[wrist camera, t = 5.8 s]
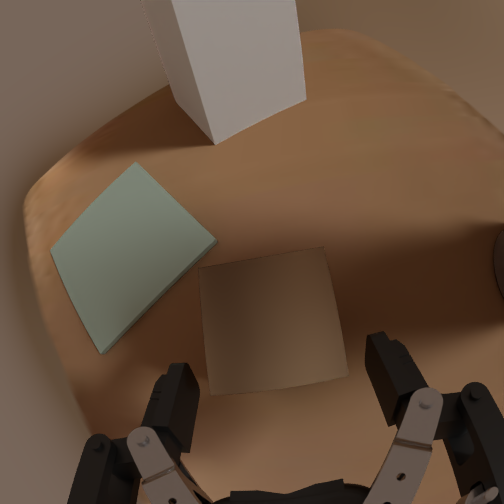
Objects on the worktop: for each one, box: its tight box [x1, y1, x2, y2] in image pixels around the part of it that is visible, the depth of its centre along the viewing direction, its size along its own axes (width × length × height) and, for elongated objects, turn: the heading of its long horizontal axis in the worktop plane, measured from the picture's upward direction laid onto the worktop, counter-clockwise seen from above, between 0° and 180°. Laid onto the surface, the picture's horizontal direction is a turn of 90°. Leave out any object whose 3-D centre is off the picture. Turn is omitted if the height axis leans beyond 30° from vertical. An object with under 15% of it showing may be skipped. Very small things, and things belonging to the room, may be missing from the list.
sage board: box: [50, 162, 217, 354], centre depth 24 cm, size 14×14×1 cm
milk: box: [140, 0, 306, 145], centre depth 18 cm, size 12×12×26 cm
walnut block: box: [198, 246, 349, 396], centre depth 14 cm, size 5×5×10 cm
